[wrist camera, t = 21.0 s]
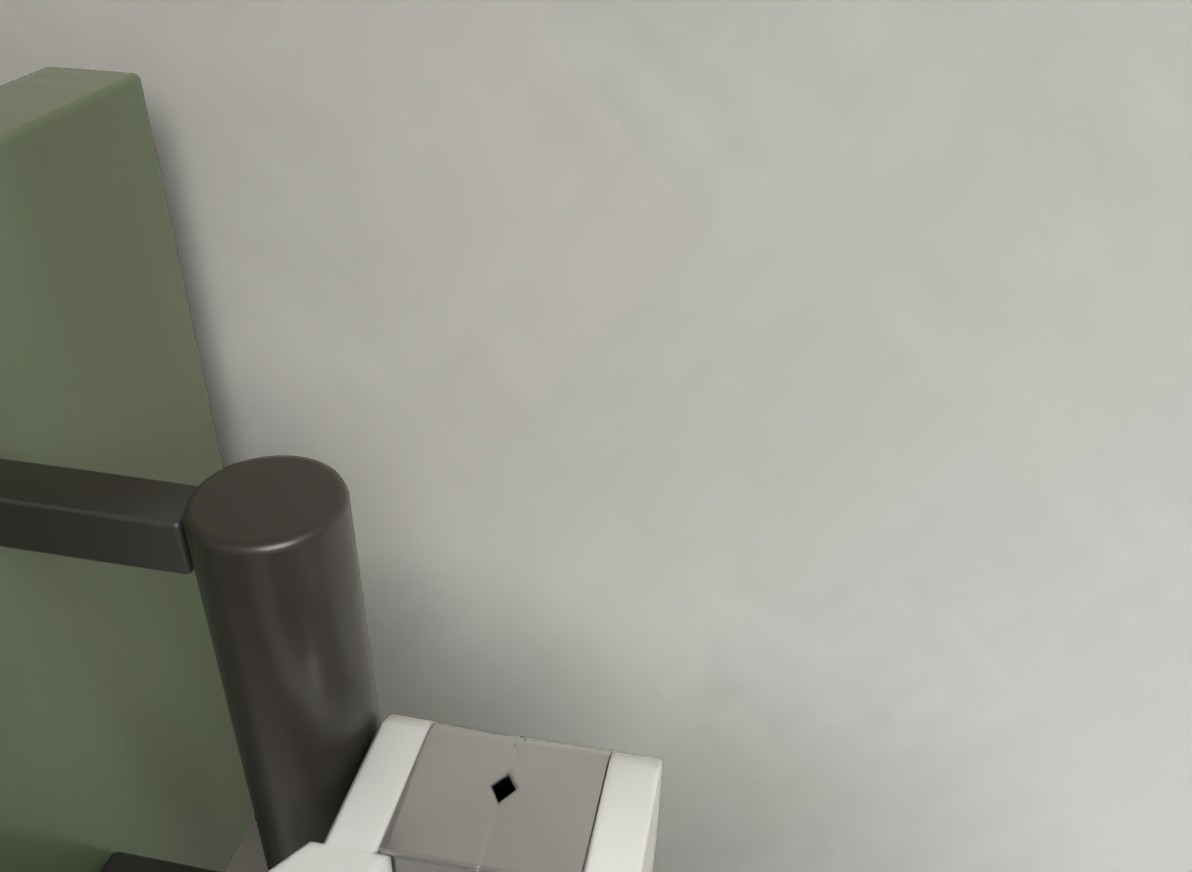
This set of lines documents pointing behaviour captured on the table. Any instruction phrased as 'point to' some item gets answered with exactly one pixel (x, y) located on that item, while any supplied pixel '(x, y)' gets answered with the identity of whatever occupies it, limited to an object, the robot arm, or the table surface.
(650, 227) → the table surface
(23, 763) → the drawer
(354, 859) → the robot arm
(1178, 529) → the table surface
